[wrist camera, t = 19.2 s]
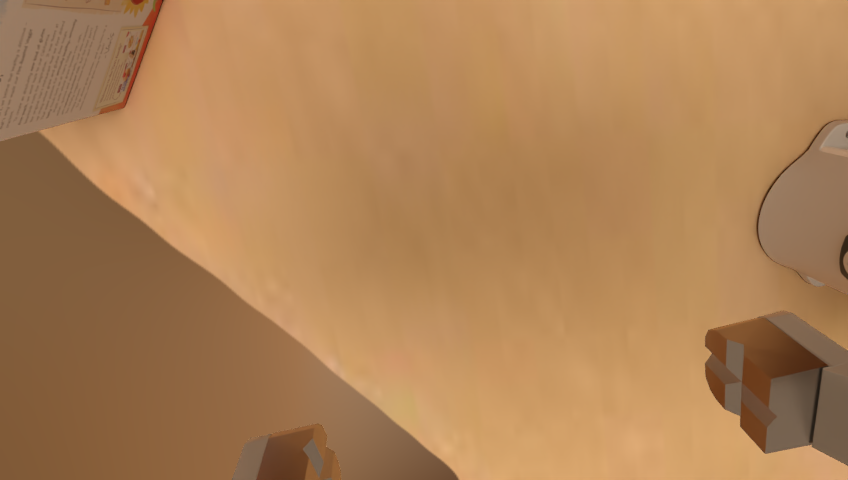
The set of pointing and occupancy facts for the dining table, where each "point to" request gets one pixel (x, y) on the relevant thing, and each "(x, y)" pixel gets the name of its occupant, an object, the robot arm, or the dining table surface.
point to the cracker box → (68, 59)
